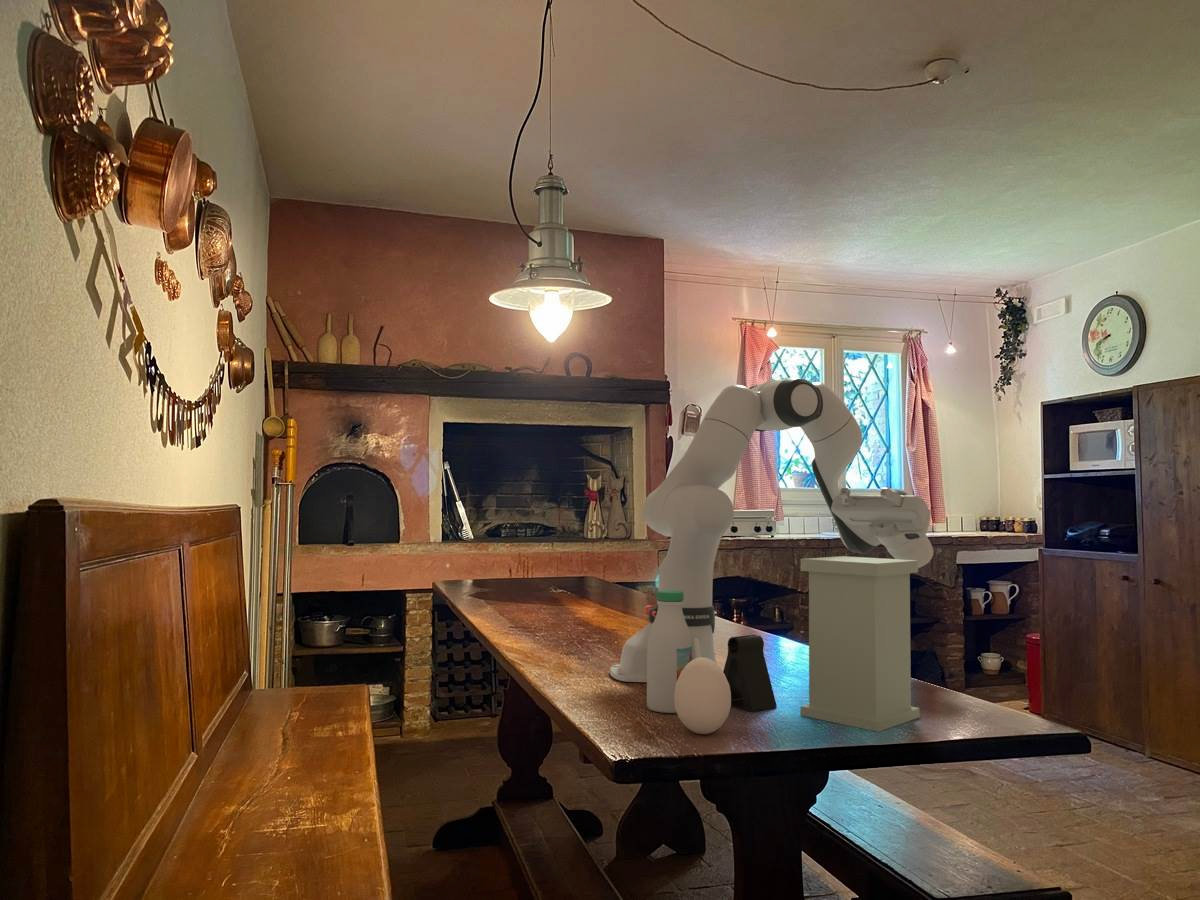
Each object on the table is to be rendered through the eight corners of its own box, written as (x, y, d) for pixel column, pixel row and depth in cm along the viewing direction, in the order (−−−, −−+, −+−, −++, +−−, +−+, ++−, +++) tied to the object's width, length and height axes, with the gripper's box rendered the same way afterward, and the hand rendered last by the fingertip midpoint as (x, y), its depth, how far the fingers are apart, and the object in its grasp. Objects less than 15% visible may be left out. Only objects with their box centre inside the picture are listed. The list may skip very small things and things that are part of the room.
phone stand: (776, 708, 149) (776, 638, 150) (752, 712, 146) (752, 640, 146) (739, 698, 156) (739, 631, 157) (715, 702, 153) (715, 634, 154)
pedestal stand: (843, 702, 154) (843, 556, 156) (919, 717, 144) (917, 560, 146) (800, 715, 144) (800, 558, 146) (878, 731, 134) (877, 563, 136)
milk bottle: (661, 716, 142) (662, 593, 144) (638, 706, 149) (639, 589, 150) (700, 711, 146) (701, 592, 147) (676, 702, 153) (677, 588, 154)
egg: (671, 726, 136) (671, 652, 137) (726, 726, 136) (726, 652, 137) (677, 741, 127) (677, 662, 128) (735, 741, 128) (735, 662, 128)
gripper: (851, 510, 198) (823, 478, 190) (938, 511, 184) (912, 477, 176) (844, 534, 196) (815, 503, 188) (932, 537, 181) (905, 504, 173)
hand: (863, 490), depth 181 cm, fingers open, 8 cm apart
